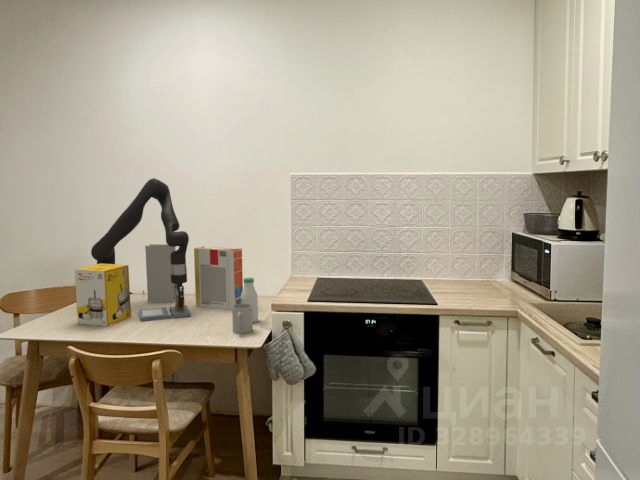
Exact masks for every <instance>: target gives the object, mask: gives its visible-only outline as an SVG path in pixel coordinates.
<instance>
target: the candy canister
mask: <svg viewBox="0 0 640 480" xmlns="http://www.w3.org/2000/svg"><path fill="white" fill-rule="evenodd" d="M254 281H255V279H254V278H253V277H244V278H243V285H244V286H243V291H242V293H241V304H251V305H252V323H256V322H258V320H259V310H258V309H259V302H258V301H259V300H258V293H257V291H256V289H255V286H254V283H255V282H254Z"/></svg>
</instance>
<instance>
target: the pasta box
mask: <svg viewBox="0 0 640 480" xmlns="http://www.w3.org/2000/svg"><path fill="white" fill-rule="evenodd" d="M193 251H194V252H193V258H194V260H193V261H194V263H193V264H194V283H195V284H194V287H195V289H194V290H195V307H198V308H199V307H200V308H208V309H219V310H228V311H232V306H233V305H236V304H241V293H242V291H243V288H244V286H243V285H244V278H243V248H241V247H240V248H239V247H238V248H237V247H223V246H222V247H221V246H219V247H217V246H206V245H205V246H198V247H195V248H193Z"/></svg>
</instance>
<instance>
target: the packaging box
mask: <svg viewBox="0 0 640 480" xmlns="http://www.w3.org/2000/svg"><path fill="white" fill-rule="evenodd" d="M129 269H130V267H129V264H119V263H118V264H116V263H115V264H97V263H96V264H92V265H88V266H84V267H79V268H75V269H74V280H75V281H74V282H75V297H76V298H75V299H76V311H77V315H76V316H77V324H79V325H80V324H81V325H90V326H91V325H92V326H99V325H101V327H109V325H110V326H111V324H112V325H115V324H117V323H119V321H120V322H122V321H124V320H126V319H129V318H132V309H131V308H132V306H131V288H130V271H129ZM121 320H122V321H121ZM116 322H117V323H116ZM114 323H115V324H114Z"/></svg>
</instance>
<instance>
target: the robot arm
mask: <svg viewBox="0 0 640 480" xmlns="http://www.w3.org/2000/svg"><path fill="white" fill-rule="evenodd" d="M152 198H153V199H154V200H157V202H158V203H159V205H160V208H161V211H160V219H161V222H162V225H163V228H164V231H165V242H166V245H169V246H170V247H175V248H177V247H178V249H175V250H176V251H174V252H172V253H171V255H170V257H171V268H170V270H171V283H173V284H175V293H176V297H178V305H179V308H183V300H184V301H185V286H184V285H183V284H185V283H187V282H188V275H187V274H188V272H187V271H188V270H187V269H188V267H187V260H186V259H187V258H186V255H187V249H188V245H189V241H190V238H189V234H188V232H187V231H184V230H183V231H181V230H180V231H178V230H179V229H180V228H181V227H180V222H179V219H178V217H177V215H176V212H175V210H174V206H173V201H172V197H171V192H170V188H169V185H167V184H166V183H165V182H163V181H161V180H159V179H157V178H155V177H154V178H150V179H149V180H148V181H147V182H145V184H144V185H143V186H142V187H141V189H140V191H139V192H138V193H137V194H136V197H134V199H133V200H132V201H131V202H130V204H129V205H128V206H127V208H125V209H124V211H123V212H121V214H120V215H119V216H118V218H117V219H116V221H114V223H113V224H112V225H111V227H110V228H109V230H108V231H107V232H106V233H105V234H104V235H103V236H101V238H100V239H99V240H97V242H96V243H95V244H94V245H93V246H92V248H91V250H90V253H91V257H92V259H94V260H95V261H96V264H116V250H115V247H116V246H117V245H118V244H119V243H120V242H121V241H122V240H123V239H124V238H126V237H127V236H128V235H129V234H130V233H132V232H133V230H134V229H135V228H136V227H137V226H138V225H139V224H140V223H141V221H142V218H143V214H144V213H143V212H144V209H145V206H146V204H147V203H148V202H149V201H150V200H151V199H152Z"/></svg>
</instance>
